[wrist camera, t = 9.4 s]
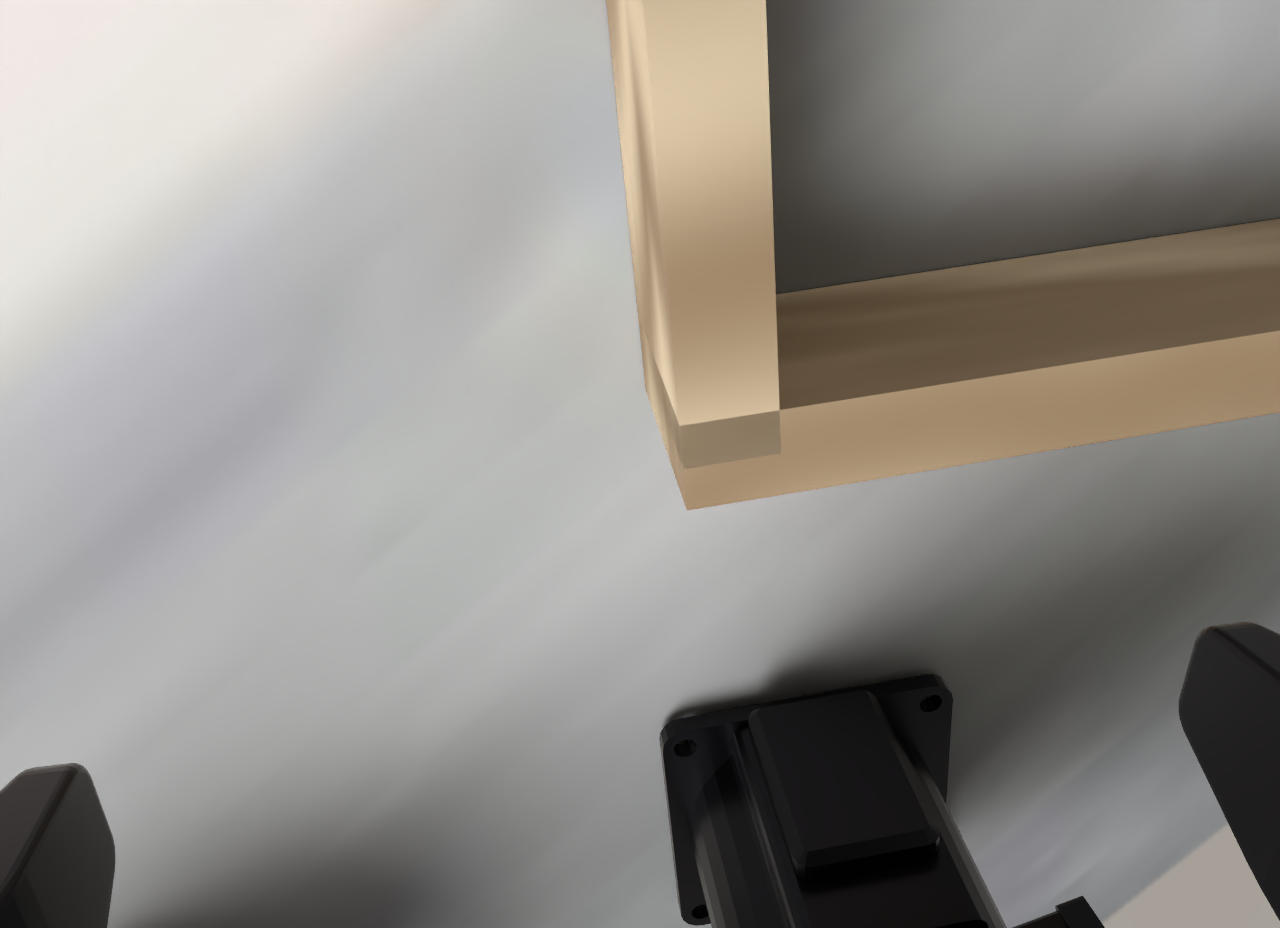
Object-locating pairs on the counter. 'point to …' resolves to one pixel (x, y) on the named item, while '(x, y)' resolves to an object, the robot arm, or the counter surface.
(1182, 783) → the counter surface
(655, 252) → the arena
